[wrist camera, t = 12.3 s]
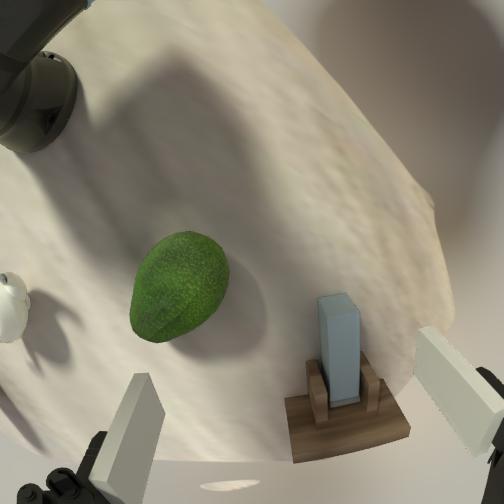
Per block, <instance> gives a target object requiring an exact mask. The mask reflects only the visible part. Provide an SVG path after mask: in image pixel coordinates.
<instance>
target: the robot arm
mask: <svg viewBox="0 0 504 504" xmlns="http://www.w3.org/2000/svg"><path fill="white" fill-rule="evenodd" d="M93 1H95V0H0V144H1V145H3V146H5V147H6V148H8V149H10V150H12V151H15V152H35V151H38V150H40V149H42V148H44V147H46V146H47V145H49V144H50V143H51V142H52V141H53V140H54V139H55V138H56V137H57V136H58V135H59V134H60V132H61V131H62V130H63V128H64V127H65V125H66V123H67V121H68V119H69V117H70V115H71V113H72V110H73V107H74V103H75V99H76V91H77V82H76V76H75V72H74V70H73V68H72V66H71V64H70V63H69V62H68V61H67V60H66V59H65V58H63V57H61V56H59V55H57V54H55V53H53V52H48V51H41V50H42V49H43V48H44V47H45V46H46V45H47V44H48V43H49V42H50V41H51V40H52V39H53V38H54V37H55V36H56V35H57V34H58V33H59V32H60V31H61V30H62V29H63V28H64V27H65V26H66V25H67V24H68V23H69V22H70V21H72V20H73V19H74V18H75V17H76V16H77V15H78V14H79V13H81V12H82V11H83V10H87V9H88V8H89V7H90V6H91V3H92V2H93ZM413 373H414V374H415V376H416V377H417V379H418V380H419V381H420V382H421V384H422V385H423V387H424V388H425V390H426V391H427V392H428V394H429V395H430V396H431V398H432V400H433V401H434V402H435V404H436V405H437V407H438V408H439V410H440V411H441V412H442V414H443V415H444V417H445V418H446V419H447V421H448V423H449V424H450V426H451V427H452V428H453V430H454V431H455V433H456V434H457V436H458V437H459V439H460V440H461V442H462V443H463V445H464V446H465V448H466V449H467V451H468V452H469V454H470V455H471V457H472V459H474V458H476V457H478V456H480V455H482V454H484V453H486V452H487V451H488V449H489V447H490V445H491V443H492V444H493V445H494V446H495V449H494V451H493V453H492V455H491V456H490V458H489V460H488V462H487V463H490V461H491V460H492V461H491V467H490V471H489V475H488V479H487V484H486V488H485V492H484V496H483V499H482V502H481V504H504V385H503V384H502V382H500V380H499V379H497V378H496V376H495V375H494V374H493V373H492V372H491V371H489V370H487V369H485V368H483V367H479V368H476V369H474V368H473V367H472V366H471V364H470V363H469V362H468V361H467V360H466V359H465V358H464V357H463V356H462V355H461V354H460V353H459V352H458V351H457V350H456V349H455V348H454V347H453V346H452V345H451V344H450V343H449V342H447V340H446V339H445V338H444V337H443V336H442V335H441V334H440V333H439V332H438V331H437V330H436V329H435V328H433V327H432V326H431V325H430V326H427V327H423V328H420V329H418V339H417V348H416V356H415V363H414V370H413ZM164 417H165V411H164V409H163V407H162V405H161V402H160V400H159V397H158V395H157V393H156V390H155V388H154V385H153V383H152V380H151V378H150V375H149V373H137V374H134V376H133V378H132V380H131V382H130V384H129V386H128V388H127V391H126V393H125V395H124V397H123V399H122V402H121V404H120V406H119V408H118V410H117V413H116V415H115V417H114V419H113V422H112V424H111V426H110V428H109V431H108V432H107V431H99V432H98V433H97V434H96V435H95V436H94V437H93V438H92V440H91V442H90V444H89V447H88V449H87V451H86V453H85V456H84V457H83V460H82V462H81V464H80V466H79V469H78V471H77V473H76V475H75V474H74V473H73V471H72V470H70V469H68V468H57V469H55V470H53V471H52V472H51V473H50V474H49V475H48V476H47V479H46V486H47V487H48V488H49V489H50V491H43V490H42V489H41V488H40V487H39V486H38V485H36V484H32V483H29V484H26V485H24V486H22V487H21V488H20V490H19V491H18V494H17V504H142V501H143V497H144V492H145V488H146V485H147V481H148V477H149V473H150V469H151V465H152V461H153V457H154V454H155V450H156V446H157V442H158V439H159V435H160V431H161V428H162V424H163V420H164Z"/></svg>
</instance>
